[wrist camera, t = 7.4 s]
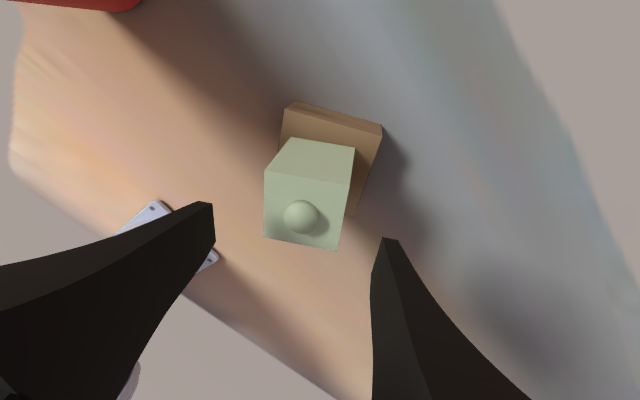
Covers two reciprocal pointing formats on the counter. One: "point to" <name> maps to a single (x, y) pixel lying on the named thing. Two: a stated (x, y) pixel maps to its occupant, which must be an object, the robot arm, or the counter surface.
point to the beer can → (89, 4)
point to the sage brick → (307, 192)
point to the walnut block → (335, 140)
